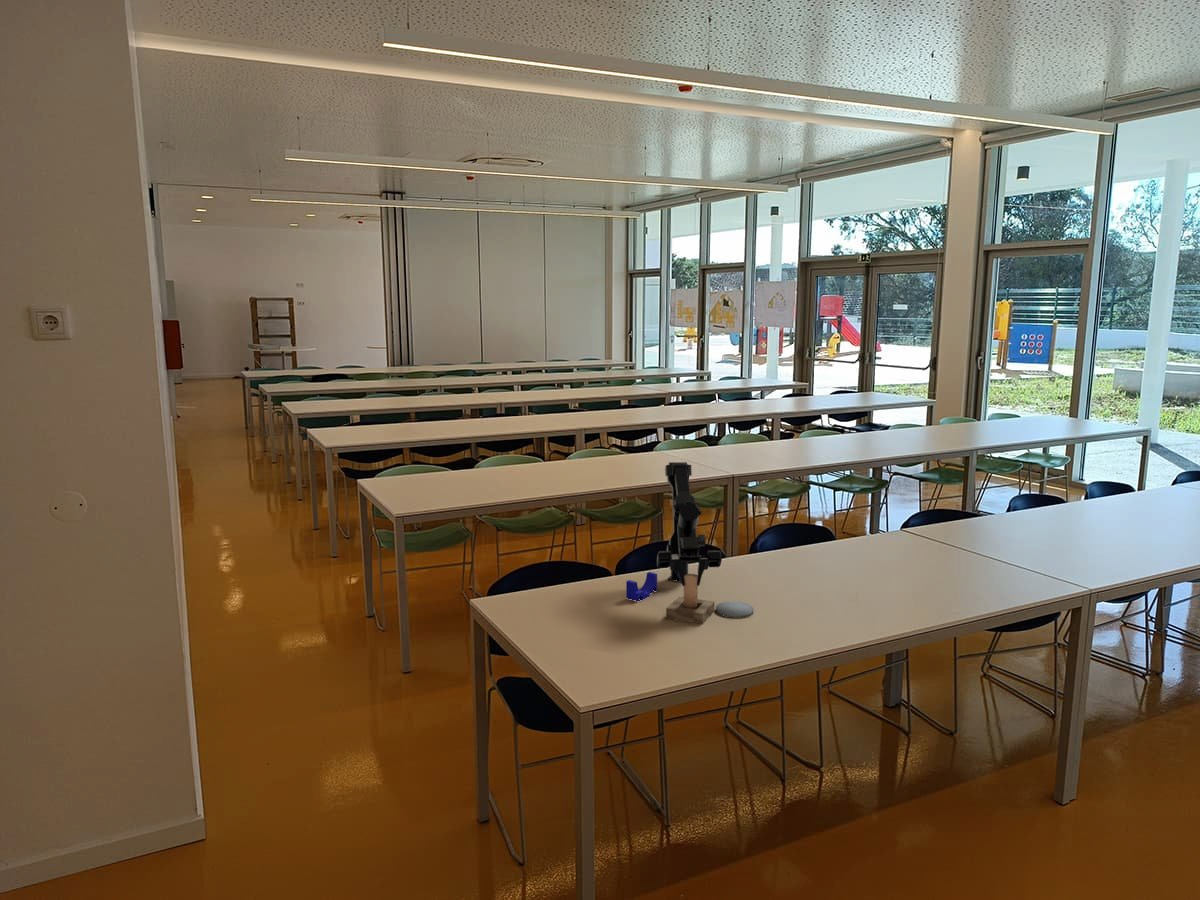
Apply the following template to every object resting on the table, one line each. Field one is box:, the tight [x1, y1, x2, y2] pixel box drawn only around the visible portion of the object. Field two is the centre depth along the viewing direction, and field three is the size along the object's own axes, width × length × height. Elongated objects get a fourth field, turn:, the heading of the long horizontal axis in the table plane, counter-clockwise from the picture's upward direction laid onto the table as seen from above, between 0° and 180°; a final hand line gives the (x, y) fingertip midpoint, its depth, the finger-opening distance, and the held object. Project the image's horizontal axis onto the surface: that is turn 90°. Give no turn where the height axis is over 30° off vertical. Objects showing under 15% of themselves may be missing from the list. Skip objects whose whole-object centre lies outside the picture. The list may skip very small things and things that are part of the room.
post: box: [683, 573, 699, 608], centre depth 237 cm, size 4×4×9 cm
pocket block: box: [665, 596, 715, 625], centre depth 238 cm, size 11×11×3 cm
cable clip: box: [625, 571, 658, 602], centre depth 254 cm, size 12×4×6 cm, turn 140°
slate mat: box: [715, 601, 754, 619], centre depth 240 cm, size 11×11×1 cm
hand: (691, 585), depth 235 cm, fingers closed on post, 4 cm apart
